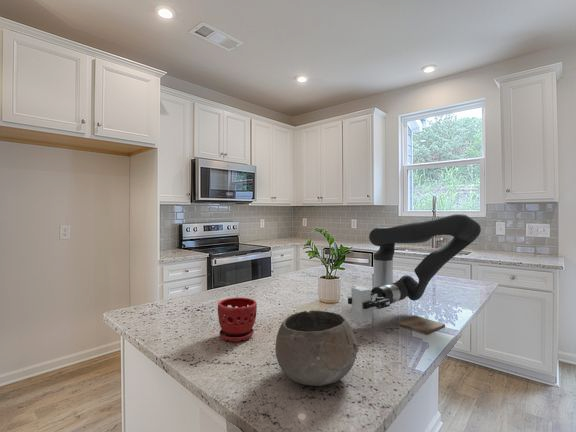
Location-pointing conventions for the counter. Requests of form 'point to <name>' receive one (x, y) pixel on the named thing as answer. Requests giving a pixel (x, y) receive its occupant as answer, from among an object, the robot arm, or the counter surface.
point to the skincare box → (361, 305)
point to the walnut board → (420, 324)
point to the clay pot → (315, 347)
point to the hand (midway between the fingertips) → (356, 303)
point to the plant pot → (237, 318)
